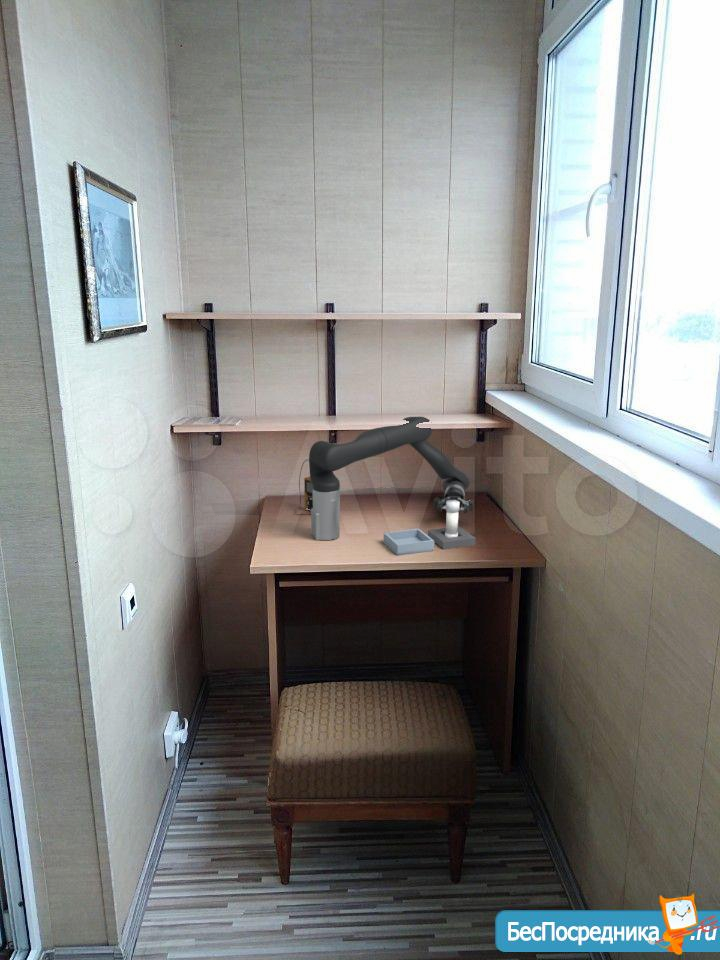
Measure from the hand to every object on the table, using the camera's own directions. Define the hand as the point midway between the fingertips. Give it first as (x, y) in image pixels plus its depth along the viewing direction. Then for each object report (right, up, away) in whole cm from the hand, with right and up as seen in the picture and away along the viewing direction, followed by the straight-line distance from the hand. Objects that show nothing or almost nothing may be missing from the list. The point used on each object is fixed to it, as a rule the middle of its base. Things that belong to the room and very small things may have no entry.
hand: (452, 510), depth 236 cm
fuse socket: (-1, -10, -5) cm, 12 cm away
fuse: (-1, -10, -5) cm, 12 cm away
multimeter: (-53, -2, +20) cm, 57 cm away
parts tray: (-16, -12, -11) cm, 23 cm away
